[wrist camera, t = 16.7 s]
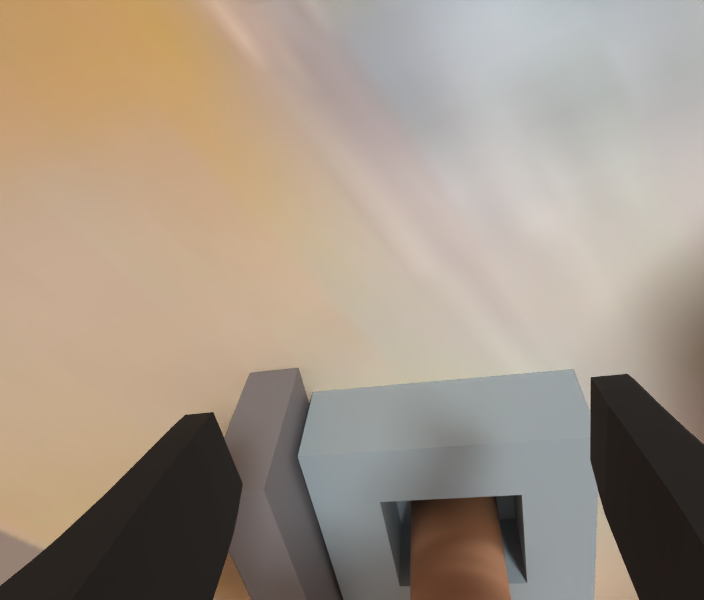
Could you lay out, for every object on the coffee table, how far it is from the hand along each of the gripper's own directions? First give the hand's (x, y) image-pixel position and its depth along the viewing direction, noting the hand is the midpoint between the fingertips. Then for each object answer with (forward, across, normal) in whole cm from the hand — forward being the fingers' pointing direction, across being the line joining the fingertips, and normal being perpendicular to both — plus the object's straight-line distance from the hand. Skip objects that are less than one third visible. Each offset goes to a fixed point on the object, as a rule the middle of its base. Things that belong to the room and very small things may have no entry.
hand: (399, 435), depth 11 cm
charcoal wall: (+9, +6, +11) cm, 16 cm away
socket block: (+10, 0, +11) cm, 15 cm away
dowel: (+9, 0, +12) cm, 15 cm away
